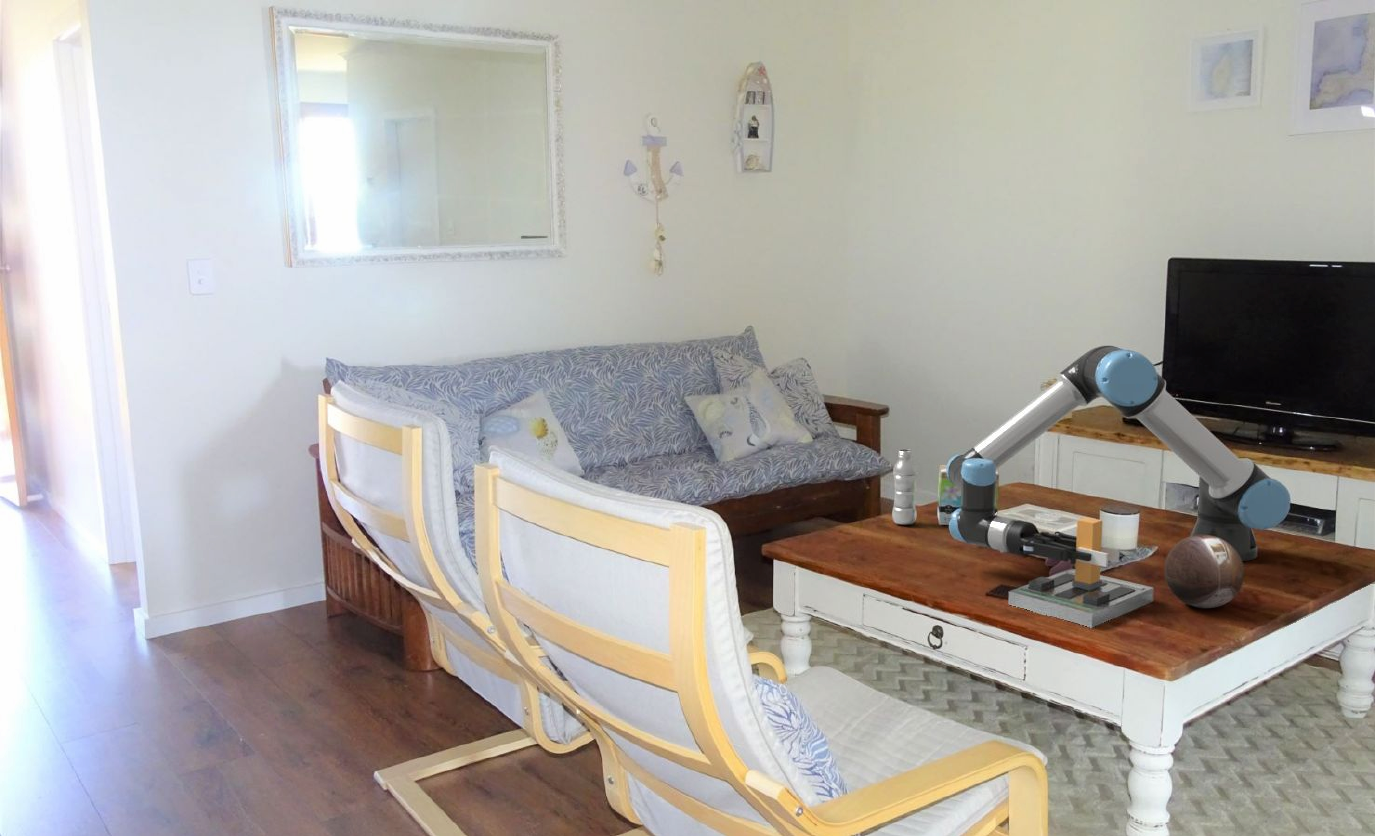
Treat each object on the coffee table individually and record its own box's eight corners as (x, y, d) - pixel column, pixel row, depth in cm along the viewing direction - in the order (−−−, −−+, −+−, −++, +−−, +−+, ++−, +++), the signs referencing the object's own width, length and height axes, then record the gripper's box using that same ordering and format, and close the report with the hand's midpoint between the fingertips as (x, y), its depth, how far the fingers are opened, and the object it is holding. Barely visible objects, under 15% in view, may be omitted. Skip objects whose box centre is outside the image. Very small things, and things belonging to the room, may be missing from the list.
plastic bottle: (889, 526, 303) (890, 452, 300) (894, 520, 309) (895, 447, 306) (913, 528, 301) (915, 453, 297) (918, 521, 307) (920, 448, 304)
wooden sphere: (1204, 622, 226) (1208, 549, 224) (1146, 600, 240) (1150, 531, 238) (1258, 611, 232) (1263, 540, 230) (1199, 591, 246) (1203, 523, 243)
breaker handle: (1084, 581, 243) (1087, 516, 241) (1101, 585, 240) (1104, 520, 238) (1072, 586, 240) (1074, 520, 237) (1089, 590, 237) (1092, 524, 234)
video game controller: (1066, 585, 256) (1082, 558, 255) (1047, 575, 257) (1063, 549, 255) (1060, 572, 266) (1075, 546, 264) (1042, 563, 266) (1057, 537, 265)
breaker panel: (1071, 581, 254) (1072, 561, 253) (1152, 601, 239) (1154, 580, 239) (1008, 605, 238) (1009, 584, 238) (1091, 628, 224) (1092, 605, 223)
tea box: (939, 526, 302) (940, 471, 300) (937, 516, 312) (938, 463, 310) (997, 527, 300) (999, 472, 298) (993, 518, 310) (995, 464, 307)
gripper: (1035, 545, 258) (1132, 567, 240) (991, 560, 247) (1090, 584, 230) (1036, 513, 257) (1134, 533, 239) (992, 526, 246) (1091, 548, 229)
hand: (1112, 558), depth 235 cm, fingers closed on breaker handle, 4 cm apart
